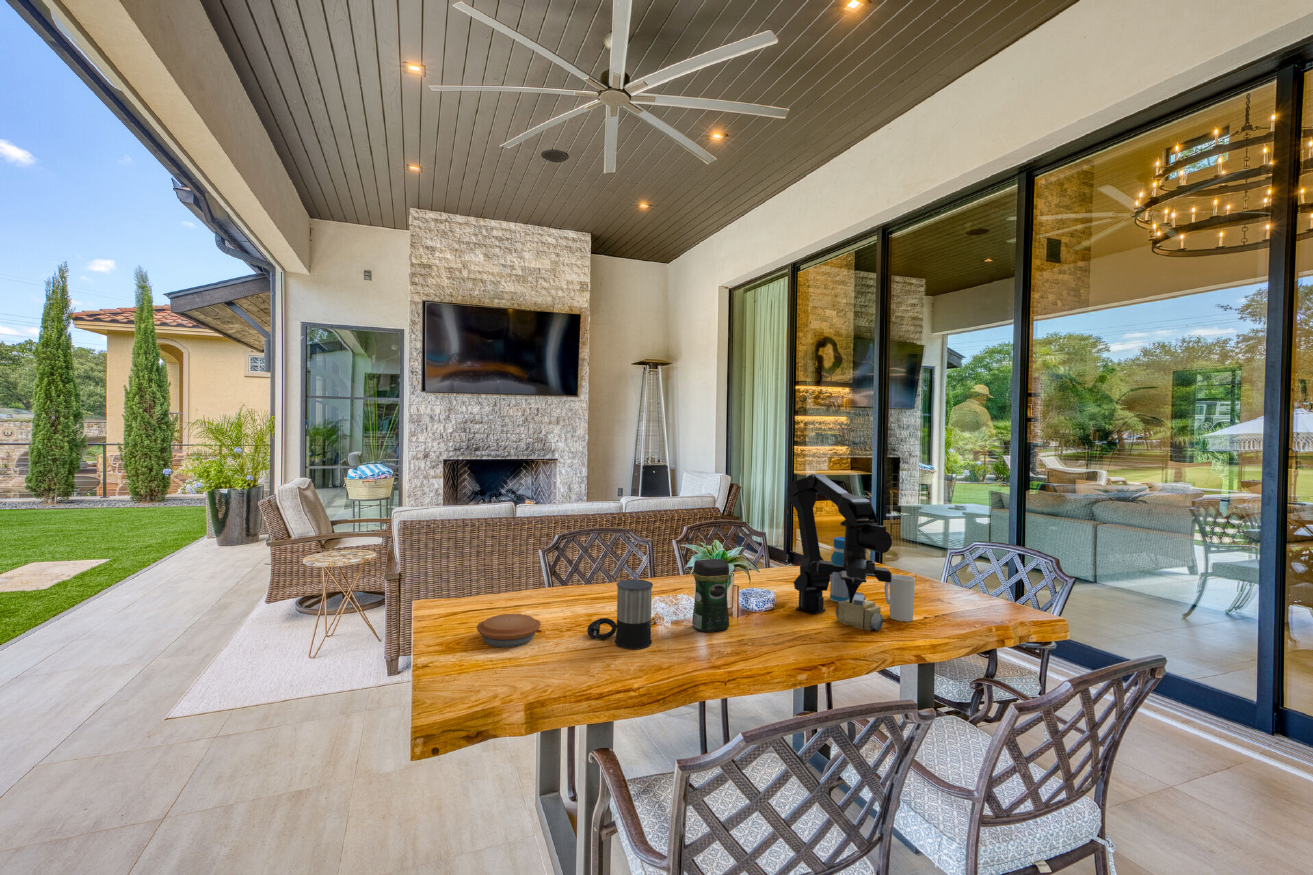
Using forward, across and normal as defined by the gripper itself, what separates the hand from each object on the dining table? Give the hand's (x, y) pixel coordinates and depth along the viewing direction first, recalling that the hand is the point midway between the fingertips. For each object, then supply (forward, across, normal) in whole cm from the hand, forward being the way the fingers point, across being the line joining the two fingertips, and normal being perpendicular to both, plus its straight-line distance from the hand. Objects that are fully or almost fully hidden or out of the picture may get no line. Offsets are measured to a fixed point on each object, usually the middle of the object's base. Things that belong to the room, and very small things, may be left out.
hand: (850, 602), depth 155 cm
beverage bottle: (+8, +1, +30) cm, 31 cm away
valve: (+8, +3, +6) cm, 10 cm away
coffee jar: (+10, -36, -8) cm, 39 cm away
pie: (+13, -84, -32) cm, 91 cm away
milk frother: (+11, -57, -24) cm, 63 cm away
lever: (+1, +2, +3) cm, 4 cm away
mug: (+7, +15, +18) cm, 24 cm away
